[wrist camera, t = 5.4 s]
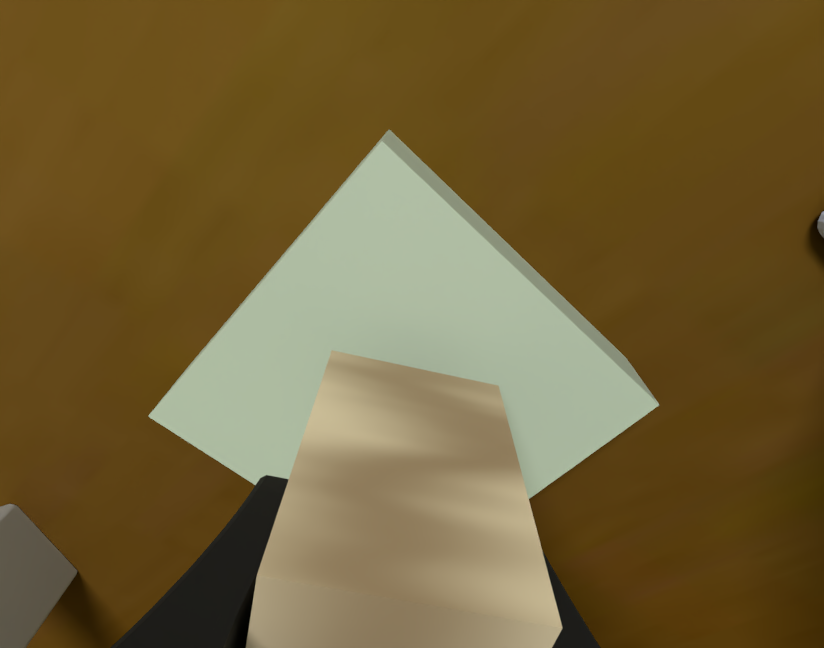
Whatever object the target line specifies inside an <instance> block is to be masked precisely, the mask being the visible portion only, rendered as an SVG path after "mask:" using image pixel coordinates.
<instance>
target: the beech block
mask: <svg viewBox="0 0 824 648" xmlns="http://www.w3.org/2000/svg"><path fill="white" fill-rule="evenodd" d="M561 630H562V624H561V620H560V616H559V612H558V609H557V605H556V601H555V597H554V593H553V590H552V586H551V582H550V578H549V575H548V571H547V567H546V563H545V559H544V556H543V552H542V548H541V544H540V540H539V537H538V533H537V529H536V525H535V521H534V518H533V514H532V510H531V506H530V503H529V499H528V495H527V491H526V487H525V484H524V480H523V476H522V472H521V468H520V465H519V461H518V457H517V453H516V450H515V446H514V442H513V438H512V434H511V431H510V427H509V423H508V419H507V415H506V412H505V408H504V404H503V400H502V396H501V393H500V389H499V386H498V385H494V384H489V383H484V382H479V381H475V380H470V379H465V378H460V377H456V376H451V375H446V374H442V373H437V372H432V371H427V370H423V369H418V368H413V367H408V366H404V365H399V364H394V363H390V362H385V361H380V360H375V359H371V358H366V357H361V356H356V355H352V354H347V353H342V352H338V351H333V350H332V351H331V354H330V357H329V360H328V363H327V366H326V369H325V372H324V375H323V378H322V381H321V384H320V387H319V390H318V393H317V396H316V399H315V402H314V405H313V408H312V411H311V414H310V417H309V420H308V423H307V426H306V429H305V432H304V435H303V438H302V441H301V444H300V447H299V450H298V453H297V456H296V459H295V462H294V465H293V468H292V471H291V474H290V477H289V480H288V483H287V486H286V489H285V492H284V495H283V498H282V501H281V504H280V507H279V510H278V513H277V516H276V519H275V522H274V525H273V528H272V531H271V534H270V537H269V540H268V543H267V546H266V549H265V552H264V555H263V558H262V561H261V564H260V567H259V570H258V573H257V577H256V584H255V590H254V597H253V603H252V610H251V616H250V623H249V630H248V636H247V643H246V648H552V647H553V645H554V643H555V641H556V639H557V638H558V636H559V634H560V632H561Z"/></svg>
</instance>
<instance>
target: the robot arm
mask: <svg viewBox="0 0 824 648" xmlns="http://www.w3.org/2000/svg"><path fill="white" fill-rule="evenodd" d="M817 228H818V230H819V233H820V234H821V235H822V237H823V238H824V211H823V212H822V213H821V215H820V217H819V219H818V225H817ZM288 480H289V479H285V478H280V477H275V476H269V475H265V476H263V477H261V478H260V479H259V481H258V482H257V484H256V486H255V487H254V489H253V490H252V492H251V493H250V494H249V496H248V497H247V499H246V500H245V502H244V503H243V504H242V506H241V507H240V508H239V510H238V511H237V512H236V514H235V515H234V516H233V517H232V519H231V520H230V521H229V522H228V524H227V525H226V526H225V528H224V529H223V530H222V531H221V532H220V534H219V535H218V536H217V537H216V538H215V539H214V541H213V542H212V543H211V544H210V545H209V546H208V548H207V549H206V550H205V551H204V552H203V553H202V555H201V556H200V557H199V558H198V559H197V561H196V562H195V563H194V564H193V565H192V566H191V567H190V568H189V569H188V571H187V572H186V573H185V574H184V575H183V576H182V577H181V578H180V579H179V580H178V581H177V582H176V583H175V584H174V585H173V586H172V587H171V588H170V589H169V591H168V592H167V593H166V594H165V595H164V596H163V597H162V598H161V599H160V600H159V601H158V602H157V603H156V604H155V605H154V606H153V607H152V608H151V609H150V610H149V611H148V612H147V613H146V614H145V615H144V616H143V617H142V618H141V619H140V620H139V621H138V622H137V623H136V624H135V625H134V626H133V627H132V628H131V629H130V630H129V631H128V632H127V633H126V634H125V635H124V636H123V637H122V638H120V639H119V640H118V641H117V642H116V643H115V644H114V645H113V646H112V647H111V648H246V643H247V636H248V630H249V623H250V616H251V610H252V603H253V597H254V590H255V584H256V577H257V573H258V570H259V567H260V564H261V561H262V558H263V555H264V552H265V549H266V546H267V543H268V540H269V537H270V534H271V531H272V528H273V525H274V522H275V519H276V516H277V513H278V510H279V507H280V504H281V501H282V498H283V495H284V492H285V489H286V486H287V483H288ZM542 552H543V551H542ZM543 556H544V559H545V563H546V567H547V571H548V575H549V578H550V582H551V586H552V590H553V593H554V597H555V601H556V605H557V609H558V612H559V616H560V620H561V624H562V630H561V632H560V634H559V636H558V638H557V639H556V641H555V643H554V645H553V647H552V648H600V646H599V645H598V643H597V642H596V640H595V639H594V637H593V635H592V634H591V632H590V630H589V629H588V627H587V626H586V624H585V622H584V621H583V619H582V617H581V616H580V614H579V613H578V611H577V609H576V608H575V606H574V604H573V603H572V601H571V599H570V598H569V596H568V594H567V593H566V591H565V589H564V587H563V586H562V584H561V582H560V580H559V579H558V577H557V575H556V574H555V572H554V570H553V568H552V567H551V565H550V563H549V561H548V559H547V558H546V556H545V554H544V552H543Z"/></svg>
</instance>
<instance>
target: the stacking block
mask: <svg viewBox="0 0 824 648" xmlns="http://www.w3.org/2000/svg"><path fill="white" fill-rule="evenodd" d="M332 350H333V351H338V352H342V353H347V354H352V355H356V356H361V357H366V358H371V359H375V360H380V361H385V362H390V363H394V364H399V365H404V366H408V367H413V368H418V369H423V370H427V371H432V372H437V373H442V374H446V375H451V376H456V377H460V378H465V379H470V380H475V381H479V382H484V383H489V384H494V385H498V386H499V389H500V393H501V396H502V400H503V404H504V408H505V412H506V415H507V419H508V423H509V427H510V431H511V434H512V438H513V442H514V446H515V450H516V453H517V457H518V461H519V465H520V468H521V472H522V476H523V480H524V484H525V487H526V491H527V495H528V499H530V498H531V497H532V496H534V495H535V494H536V493H538V492H539V491H541V490H542V489H543V488H545V487H546V486H548V485H549V484H550V483H552V482H553V481H555V480H556V479H557V478H559V477H560V476H561V475H563V474H564V473H566V472H567V471H568V470H570V469H571V468H573V467H574V466H575V465H577V464H578V463H580V462H581V461H582V460H584V459H585V458H586V457H588V456H589V455H591V454H592V453H593V452H595V451H596V450H598V449H599V448H600V447H602V446H603V445H605V444H606V443H607V442H609V441H610V440H611V439H613V438H614V437H616V436H617V435H618V434H620V433H621V432H623V431H624V430H625V429H627V428H628V427H630V426H631V425H632V424H634V423H635V422H636V421H638V420H639V419H641V418H642V417H643V416H645V415H646V414H648V413H649V412H650V411H652V410H653V409H655V408H656V407H657V406H659V403H658V402H657V401H656V399H655V398H654V396H653V395H652V394H651V392H650V391H649V389H648V388H647V387H646V385H645V384H644V382H643V381H642V380H641V378H640V377H639V375H638V374H637V373H636V371H635V370H634V368H633V367H632V366H631V364H630V363H629V361H628V360H627V358H626V357H625V356H624V355H623V354H622V353H621V352H619V351H618V350H617V349H616V348H615V347H614V346H613V345H612V344H611V343H610V342H609V341H608V340H607V339H606V338H605V337H604V336H603V335H602V334H601V333H600V332H599V331H598V330H597V329H596V328H595V327H594V326H593V325H591V324H590V323H589V322H588V321H587V320H586V319H585V318H584V317H583V316H582V315H581V314H580V313H579V312H578V311H577V310H576V309H575V308H574V307H573V306H572V305H571V304H570V303H569V302H568V301H567V300H566V299H565V298H563V297H562V296H561V295H560V294H559V293H558V292H557V291H556V290H555V289H554V288H553V287H552V286H551V285H550V284H549V283H548V282H547V281H546V280H545V279H544V278H543V277H542V276H541V275H540V274H539V273H538V272H537V271H535V270H534V269H533V268H532V267H531V266H530V265H529V264H528V263H527V262H526V261H525V260H524V259H523V258H522V257H521V256H520V255H519V254H518V253H517V252H516V251H515V250H514V249H513V248H512V247H511V246H510V245H509V244H507V243H506V242H505V241H504V240H503V239H502V238H501V237H500V236H499V235H498V234H497V233H496V232H495V231H494V230H493V229H492V228H491V227H490V226H489V225H488V224H487V223H486V222H485V221H484V220H483V219H482V218H481V217H480V216H478V215H477V214H476V213H475V212H474V211H473V210H472V209H471V208H470V207H469V206H468V205H467V204H466V203H465V202H464V201H463V200H462V199H461V198H460V197H459V196H458V195H457V194H456V193H455V192H454V191H453V190H452V189H450V188H449V187H448V186H447V185H446V184H445V183H444V182H443V181H442V180H441V179H440V178H439V177H438V176H437V175H436V174H435V173H434V172H433V171H432V170H431V169H430V168H429V167H428V166H427V165H426V164H425V163H424V162H422V161H421V160H420V159H419V158H418V157H417V156H416V155H415V154H414V153H413V152H412V151H411V150H410V149H409V148H408V147H407V146H406V145H405V144H404V143H403V142H402V141H401V140H400V139H399V138H398V137H397V136H396V135H394V134H393V133H392V132H391V131H390V130H388V131H387V132H386V134H385V135H384V136H383V137H382V138H381V139H380V141H379V142H378V143H377V144H376V145H375V147H374V148H373V149H372V150H371V151H370V152H369V154H368V155H367V156H366V157H365V158H364V160H363V161H362V162H361V163H360V164H359V165H358V167H357V168H356V169H355V170H354V171H353V173H352V174H351V175H350V176H349V177H348V178H347V180H346V181H345V182H344V183H343V184H342V186H341V187H340V188H339V189H338V190H337V191H336V193H335V194H334V195H333V196H332V197H331V199H330V200H329V201H328V202H327V203H326V204H325V206H324V207H323V208H322V209H321V210H320V212H319V213H318V214H317V215H316V216H315V217H314V219H313V220H312V221H311V222H310V223H309V225H308V226H307V227H306V228H305V229H304V230H303V232H302V233H301V234H300V235H299V236H298V238H297V239H296V240H295V241H294V242H293V243H292V245H291V246H290V247H289V248H288V249H287V251H286V252H285V253H284V254H283V255H282V256H281V258H280V259H279V260H278V261H277V262H276V264H275V265H274V266H273V267H272V268H271V269H270V271H269V272H268V273H267V274H266V275H265V277H264V278H263V279H262V280H261V281H260V282H259V284H258V285H257V286H256V287H255V288H254V290H253V291H252V292H251V293H250V294H249V295H248V297H247V298H246V299H245V300H244V301H243V303H242V304H241V305H240V306H239V307H238V308H237V310H236V311H235V312H234V313H233V314H232V316H231V317H230V318H229V319H228V320H227V321H226V323H225V324H224V325H223V326H222V327H221V329H220V330H219V331H218V332H217V333H216V334H215V336H214V337H213V338H212V339H211V340H210V342H209V343H208V344H207V345H206V346H205V347H204V349H203V350H202V351H201V352H200V353H199V355H198V356H197V357H196V358H195V359H194V360H193V362H192V363H191V364H190V365H189V366H188V368H187V369H186V370H185V371H184V372H183V374H182V375H181V376H180V377H179V379H178V380H177V381H176V382H175V384H174V385H173V386H172V387H171V389H170V390H169V391H168V392H167V394H166V395H165V396H164V397H163V399H162V400H161V401H160V402H159V404H158V405H157V406H156V407H155V409H154V410H153V411H152V412H151V413H150V415H149V416H148V417H150V418H152V419H153V420H155V421H156V422H158V423H159V424H161V425H162V426H164V427H166V428H167V429H169V430H170V431H172V432H173V433H175V434H177V435H178V436H180V437H181V438H183V439H184V440H186V441H187V442H189V443H191V444H192V445H194V446H195V447H197V448H198V449H200V450H201V451H203V452H205V453H206V454H208V455H209V456H211V457H212V458H214V459H215V460H217V461H219V462H220V463H222V464H223V465H225V466H226V467H228V468H230V469H231V470H233V471H234V472H236V473H237V474H239V475H240V476H242V477H244V478H245V479H247V480H248V481H250V482H251V483H253V484H254V485H256V484H257V482H258V481H259V479H260V478H261V477H263V476H265V475H269V476H275V477H280V478H285V479H289V477H290V474H291V471H292V468H293V465H294V462H295V459H296V456H297V453H298V450H299V447H300V444H301V441H302V438H303V435H304V432H305V429H306V426H307V423H308V420H309V417H310V414H311V411H312V408H313V405H314V402H315V399H316V396H317V393H318V390H319V387H320V384H321V381H322V378H323V375H324V372H325V369H326V366H327V363H328V360H329V357H330V354H331V351H332Z"/></svg>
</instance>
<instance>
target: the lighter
mask: <svg viewBox="0 0 824 648" xmlns="http://www.w3.org/2000/svg"><path fill="white" fill-rule="evenodd" d="M76 575H77V570H76V569H75V568H74V566H73V565H72V564H71V563H70V562H69V561H68V560H67V559H66V558H65V557H64V556H63V555H62V554H61V552H60V551H59V550H58V549H57V548H56V547H55V546H54V545H53V544H52V543H51V542H50V541H49V540H48V538H47V537H46V536H45V535H44V534H43V533H42V532H41V531H40V530H39V529H38V528H37V527H36V526H35V524H34V523H33V522H32V521H31V520H30V519H29V518H28V517H27V516H26V515H25V514H24V513H23V512H22V510H21V509H20V508H19V507H18V506H16V505H13V504H8V505H4V506H1V507H0V648H26V647H27V645H28V644H29V642H30V641H31V639H32V638H33V637H34V635H35V634H36V632H37V631H38V629H39V628H40V626H41V625H42V624H43V622H44V621H45V619H46V618H47V616H48V615H49V613H50V612H51V611H52V609H53V608H54V606H55V605H56V603H57V602H58V601H59V599H60V598H61V596H62V595H63V593H64V592H65V590H66V589H67V588H68V586H69V585H70V583H71V582H72V580H73V579H74V577H75V576H76Z"/></svg>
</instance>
